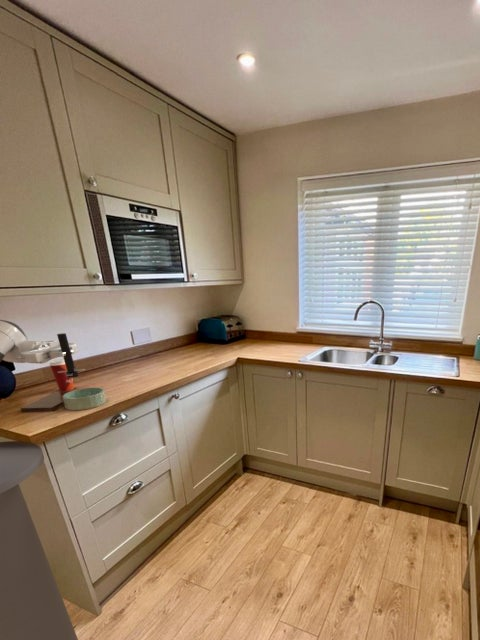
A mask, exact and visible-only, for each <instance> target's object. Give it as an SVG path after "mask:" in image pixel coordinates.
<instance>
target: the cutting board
mask: <svg viewBox="0 0 480 640" xmlns="http://www.w3.org/2000/svg"><path fill="white" fill-rule="evenodd" d="M67 392H70V391H63V392H61V391H54V392H52V393H50V394H48V395H46V396H43V397H42V398H39V399H37V400H35V401H33V402H31V403H29V404H26V405H25V406H23V407H20V411H21V412H23V413H25V412H26V413H27V412H54V411H55V410H57V409H59V408H61V407H63V406H65V404H64V400H63V397H62V396H63V395H64V394H65V393H67Z"/></svg>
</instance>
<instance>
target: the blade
mask: <svg viewBox="0 0 480 640" xmlns="http://www.w3.org/2000/svg"><path fill="white" fill-rule="evenodd" d="M56 336H57V339H58V342H59V343H60V347H61V351H62V352H65V354H66V356H64V357H62V359H64V361H65V365H66V369H67V370H66V371H58V373H62V372H66V376H67V377H68V378H72V379H73V378H77V377H79V376H80V374H79V372H83V371H85V370H86V368H80V369H77V368H76V367H75V362H74V357H73V354H71V351H70V347H69V343H70V342H69V340H68V336H67V333H66V332H63V333H57V334H56Z"/></svg>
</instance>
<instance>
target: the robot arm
mask: <svg viewBox="0 0 480 640" xmlns="http://www.w3.org/2000/svg"><path fill="white" fill-rule="evenodd" d="M68 343H69V347H70V351H71V355H74V354H76V353H78V352H79V349H78V346H77V344H76V343H74V342H68ZM64 356H66V354H65V352H62V351H61V347H60V343H59V341H57V340H46V341H43V340H28V337H27V335H26V333H25V332H24V330H23V329H22V328H21V327H20V326H19V325H17V323H14V322H12V321H8V320H6V319H0V363H1V362H2V361H4V362H8V363H15V364H25V363H27V364H40V365H41V364H43V365H44V364H47V363H49V362H50V361H52V360H55V359H58V358H63V357H64Z"/></svg>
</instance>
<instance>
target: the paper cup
mask: <svg viewBox="0 0 480 640" xmlns="http://www.w3.org/2000/svg"><path fill="white" fill-rule="evenodd" d="M48 365H49V366H50V368H51V371H52V374H53V377H54V379H55V382H56V384H57V388H58V390H59V392H63V391H73V390H75V385H74V384H75V383H74V379H73V378H68V377H67V376H66V372H62V373H58V371H66V370H67V369H66V365H65V361H64V358H57V359H52V360H49V364H48Z"/></svg>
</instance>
